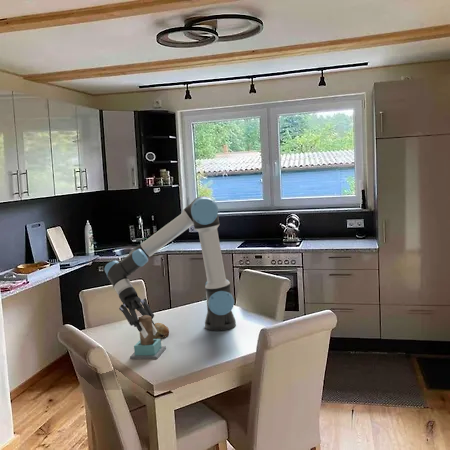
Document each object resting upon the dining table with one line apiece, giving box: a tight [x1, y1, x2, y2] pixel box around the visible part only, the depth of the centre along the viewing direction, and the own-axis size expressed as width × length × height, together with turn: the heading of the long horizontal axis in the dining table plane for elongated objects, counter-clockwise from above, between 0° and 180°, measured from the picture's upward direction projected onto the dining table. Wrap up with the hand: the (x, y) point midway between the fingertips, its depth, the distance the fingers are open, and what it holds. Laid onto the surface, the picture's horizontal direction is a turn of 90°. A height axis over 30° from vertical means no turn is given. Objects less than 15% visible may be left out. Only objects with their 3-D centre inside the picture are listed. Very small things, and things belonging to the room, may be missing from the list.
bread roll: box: [153, 322, 170, 339], centre depth 247 cm, size 10×10×8 cm
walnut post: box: [137, 315, 154, 345], centre depth 222 cm, size 4×4×12 cm
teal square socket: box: [129, 338, 167, 360], centre depth 223 cm, size 12×12×5 cm
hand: (150, 334), depth 220 cm, fingers closed on walnut post, 4 cm apart
